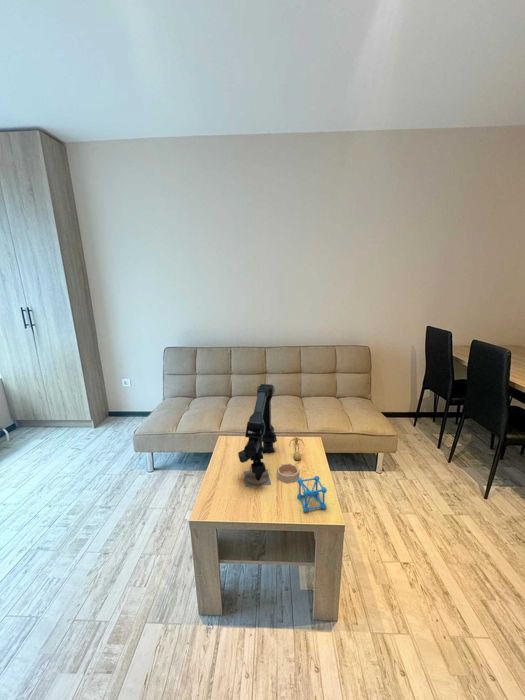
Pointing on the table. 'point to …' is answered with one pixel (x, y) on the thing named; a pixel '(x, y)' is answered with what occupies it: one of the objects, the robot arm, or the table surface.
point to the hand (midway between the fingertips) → (256, 474)
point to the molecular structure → (311, 493)
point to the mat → (256, 485)
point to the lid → (252, 479)
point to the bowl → (288, 473)
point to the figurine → (296, 454)
